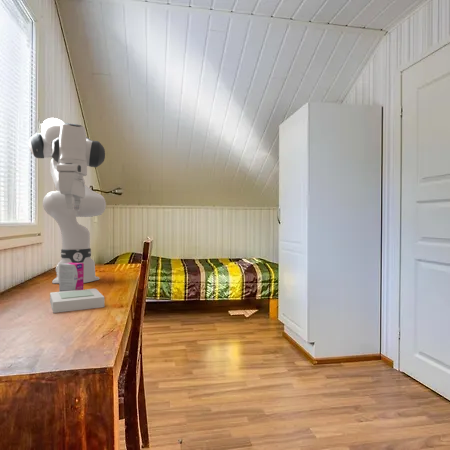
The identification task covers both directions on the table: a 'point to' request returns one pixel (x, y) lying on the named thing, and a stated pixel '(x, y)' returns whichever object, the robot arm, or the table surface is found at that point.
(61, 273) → the supplement box
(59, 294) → the dock
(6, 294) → the table surface
